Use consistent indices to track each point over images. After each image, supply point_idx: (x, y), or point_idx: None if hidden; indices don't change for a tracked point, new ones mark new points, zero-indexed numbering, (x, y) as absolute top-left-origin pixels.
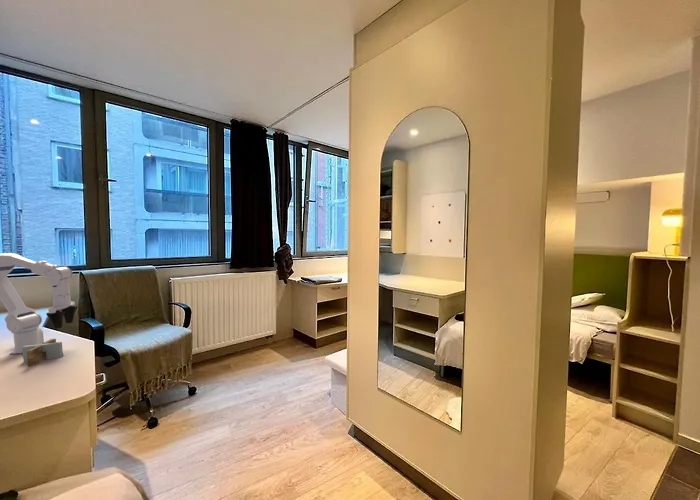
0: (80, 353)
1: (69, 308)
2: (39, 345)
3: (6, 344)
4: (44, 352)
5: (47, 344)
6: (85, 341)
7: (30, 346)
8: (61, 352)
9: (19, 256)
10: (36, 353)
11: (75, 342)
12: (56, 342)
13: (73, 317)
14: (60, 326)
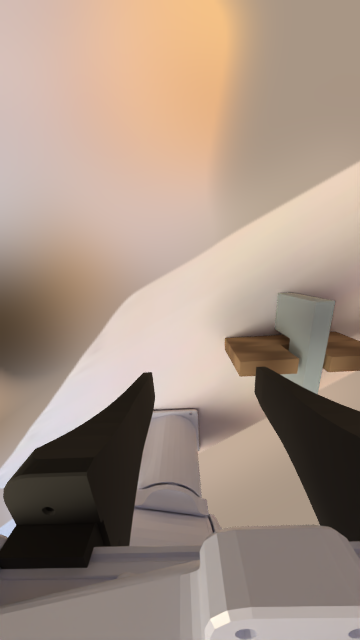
0: (274, 243)
1: (110, 506)
2: (322, 367)
3: None
4: None
5: (326, 343)
6: (127, 309)
7: (316, 393)
8: (293, 295)
9: None
10: (347, 346)
11: (131, 338)
12: (314, 321)
13: (129, 389)
14: (273, 371)
